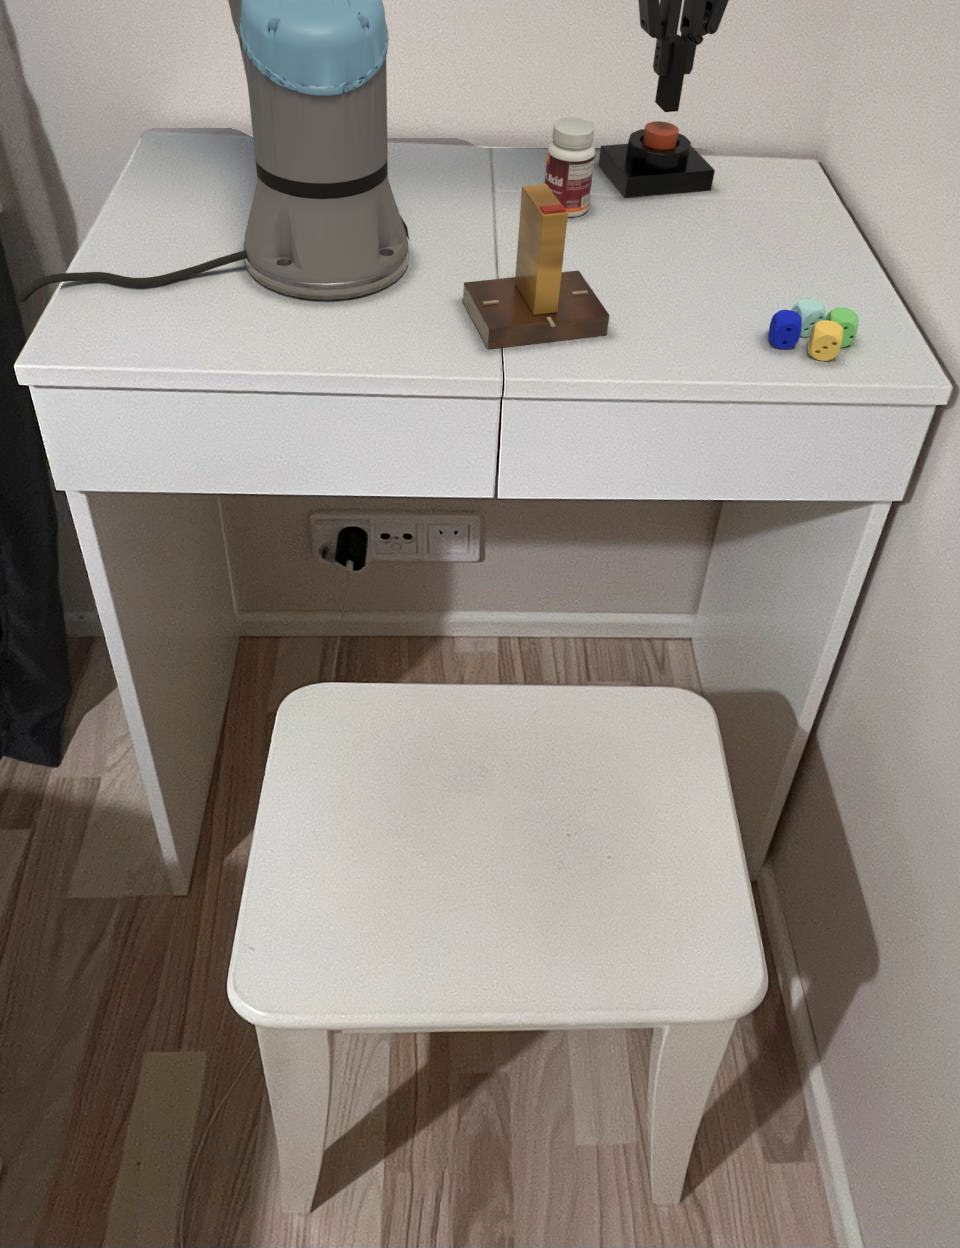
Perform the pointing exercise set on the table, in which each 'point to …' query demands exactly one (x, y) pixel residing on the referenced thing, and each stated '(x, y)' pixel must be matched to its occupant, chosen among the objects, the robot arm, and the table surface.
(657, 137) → the bell button
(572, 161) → the pill bottle
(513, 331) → the lock plate
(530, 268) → the thumb turn
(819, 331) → the dice
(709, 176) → the button box
